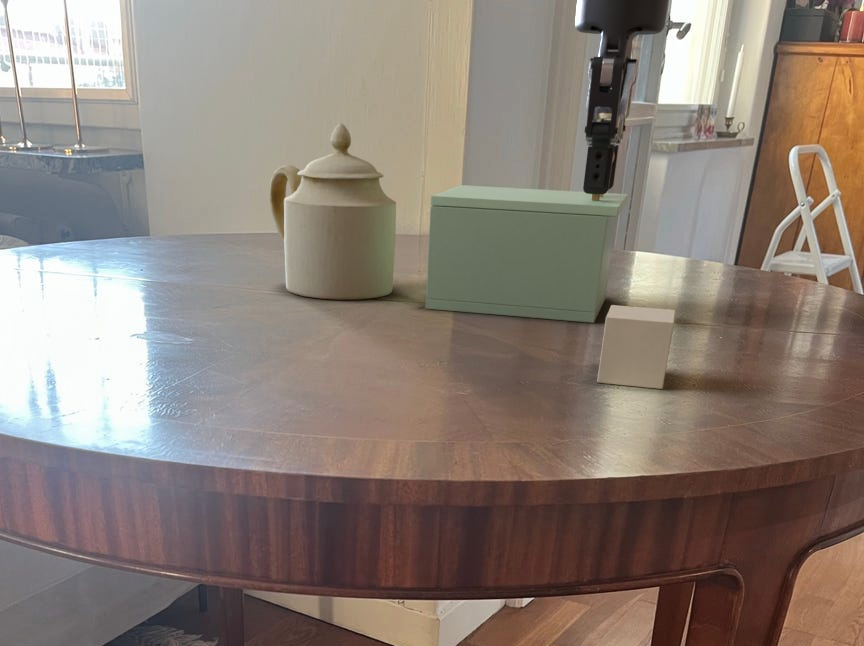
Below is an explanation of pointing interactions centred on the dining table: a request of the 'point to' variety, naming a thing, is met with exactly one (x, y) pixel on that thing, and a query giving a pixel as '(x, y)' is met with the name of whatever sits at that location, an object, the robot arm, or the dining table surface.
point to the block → (636, 346)
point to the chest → (518, 262)
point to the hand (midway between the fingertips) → (598, 190)
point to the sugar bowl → (335, 226)
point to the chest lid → (531, 200)
